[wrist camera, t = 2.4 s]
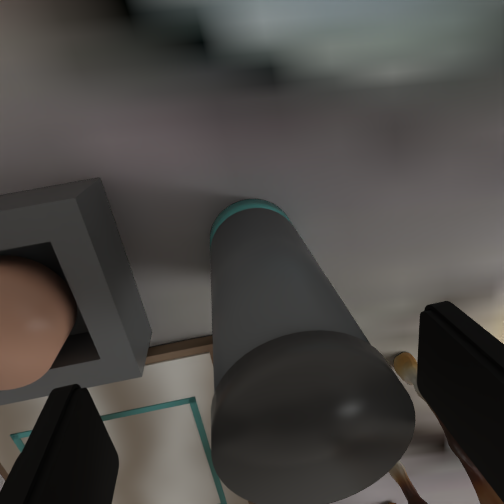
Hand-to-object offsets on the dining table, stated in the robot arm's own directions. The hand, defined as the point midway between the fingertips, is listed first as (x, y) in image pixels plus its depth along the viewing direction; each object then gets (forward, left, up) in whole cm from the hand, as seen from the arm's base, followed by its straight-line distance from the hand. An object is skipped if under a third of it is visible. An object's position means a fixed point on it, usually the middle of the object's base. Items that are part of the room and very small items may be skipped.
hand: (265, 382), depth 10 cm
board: (+10, +14, -10) cm, 20 cm away
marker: (-1, 0, -10) cm, 10 cm away
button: (+10, 0, -7) cm, 13 cm away
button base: (+10, 0, -10) cm, 14 cm away
